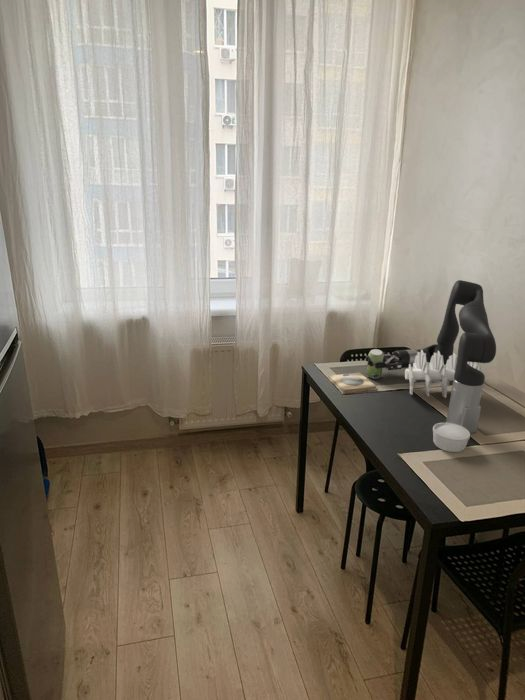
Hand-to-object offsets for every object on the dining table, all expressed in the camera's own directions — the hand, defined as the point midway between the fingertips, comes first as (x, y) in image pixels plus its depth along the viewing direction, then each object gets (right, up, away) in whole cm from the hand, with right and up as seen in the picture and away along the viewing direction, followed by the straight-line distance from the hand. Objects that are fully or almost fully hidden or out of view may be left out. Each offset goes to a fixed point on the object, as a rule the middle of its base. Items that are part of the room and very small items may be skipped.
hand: (370, 362), depth 207 cm
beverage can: (+2, -7, +3) cm, 7 cm away
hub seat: (-9, -9, -4) cm, 13 cm away
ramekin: (+15, -25, -46) cm, 54 cm away
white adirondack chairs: (+23, -13, -11) cm, 28 cm away
